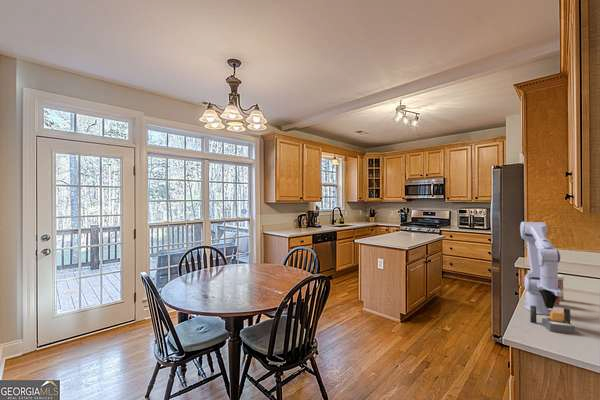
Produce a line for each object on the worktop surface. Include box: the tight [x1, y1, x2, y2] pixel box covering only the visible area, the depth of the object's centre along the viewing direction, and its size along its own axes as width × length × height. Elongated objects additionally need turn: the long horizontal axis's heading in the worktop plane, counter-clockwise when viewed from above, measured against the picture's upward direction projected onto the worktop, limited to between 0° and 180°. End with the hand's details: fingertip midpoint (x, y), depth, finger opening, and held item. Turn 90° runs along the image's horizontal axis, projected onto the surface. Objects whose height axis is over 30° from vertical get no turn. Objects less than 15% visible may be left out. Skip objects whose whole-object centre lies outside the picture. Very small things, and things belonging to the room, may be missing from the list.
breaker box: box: [541, 317, 576, 335], centre depth 114 cm, size 6×8×4 cm
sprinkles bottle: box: [558, 274, 565, 302], centre depth 150 cm, size 5×5×14 cm
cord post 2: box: [563, 308, 571, 324], centre depth 117 cm, size 2×2×7 cm
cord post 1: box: [529, 305, 537, 324], centre depth 121 cm, size 2×2×7 cm
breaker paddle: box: [549, 310, 564, 322], centre depth 114 cm, size 1×4×4 cm, turn 74°
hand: (549, 307), depth 119 cm, fingers closed
